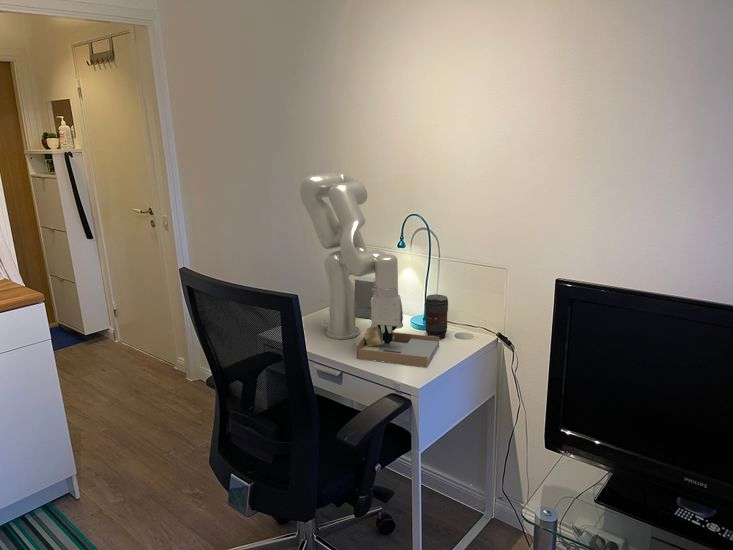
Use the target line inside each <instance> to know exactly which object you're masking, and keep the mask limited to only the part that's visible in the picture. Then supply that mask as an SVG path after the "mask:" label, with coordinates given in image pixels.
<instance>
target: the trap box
mask: <svg viewBox="0 0 733 550" xmlns="http://www.w3.org/2000/svg"><path fill="white" fill-rule="evenodd" d="M374 327H375V326H374ZM355 346H356V347H355V348H356V349H355V350H356V359H358V360H364V359H367V360H366V361H372V360H376V361H375V362H380V361H384V362H383V363H388V362H390V363H389V364H396V363H397V364H396V365H405V366H412V365H414V366H413V367H420V366H423V367H422V368H427V367H428V366H429V365H428V364H430V363H431V361H432V359H433V358H432V357H434V356H433V355H435V354H436V353H435V352H437V351H438V349H439V347H440V339H439V337H435V336H427V334H426V335H425V334H417V333H416V334H415V333H406V332H405V333H404V332H398V331H397V332H395V331H393V340H392V341H391V343H390V344H384V341H383V343H382V344H381V345H375V346H370V347H368V346H367V343H366V340H365V337H364V336H363V337H362V338H361V339H360V340H359V341H358V343H356V344H355ZM437 348H438V349H437ZM436 350H437V351H436ZM430 360H431V361H430ZM429 362H430V363H429Z"/></svg>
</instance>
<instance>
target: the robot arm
mask: <svg viewBox="0 0 733 550" xmlns="http://www.w3.org/2000/svg"><path fill="white" fill-rule="evenodd" d="M299 196H300V200H301V203H302V205H303V208H304V209H305V210H306V212H307V214H308V216H309V218H310V220H311V223H312V226H313V228H314V230H315V233H316V236H317V239H318V241H319V244H320V245H321V247H322V248H323V249H325V250H334V249H338V250H334V251H332V252H331V253H328V254H327V256H326V257H325V258H324V262H323V263H324V270H325V274H326V279H327V288H328V289H327V291H328V311H329V312H328V313H329V320H326V319H325V320H323V319H321V320H320V327H321V328H326V330H325V335H326V336H327V337H329V338H330V339H334V340H348V339H353V338H356V337H357V336H359V335H360V332H361V330H360V327H358V326H356V317H355V295H354V293H355V284H353V282H352V280H351V279H350V276H354V277H356V278H358V277H360V276H367V275H371V274H374V278H375V287H372V291H374V292H375V295H373V300H372V310H371V319H370V320H371V321H372V323H371V326H372V325H373V326H376V327H378V328H379V329H380V330H381V331H382V333H383V340H384V344H390V343H391V341H392V340H393V332H395V330H398V329H402V328H403V327H404V325H403V320H404V313H403V304H402V299H401V295H400V294H399V276H398V275H399V273H398V272H399V271H398V264H399V263H398V262H399V261H398V256H396V255H395V254H389V253H385V252H384V251H381V250H378V249H374V250H373V249H372V250H369V251H368V250H367V247H366V244H365V241H364V239H363V236H362V233H361V231H360V229H362V227H363V226H364V225H365V223H366V219H365V217H364V214H363V212H362V210H361V208H360V207H361V206H360V205H363V204H364V203H366V202H367V199H368V191H367V189H366V186H365V185H364V184H363V183H362V182H361V181H359V180H357V179H355V178H354V177H351V176H349V175H347V174H345V173H342V172H336V171H335V172H326V173H317V174H312V175H308V176H306V177H305V178H303V179H302V180H301V183H300V186H299ZM323 198H328V200H329V202H330V204H331V206H332V207H331V206H330V205H329V204H328V203H327V202H326V201H324V200H323ZM334 213H335V214H334ZM336 217H337V218H336ZM339 248H340V249H339ZM371 321H370V322H371ZM387 326H389V328H388V329H387Z"/></svg>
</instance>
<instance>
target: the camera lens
mask: <svg viewBox="0 0 733 550" xmlns="http://www.w3.org/2000/svg"><path fill="white" fill-rule="evenodd" d="M424 305H425V306H424V307H425V316H424V320H425V332H426V336H435V337H439V340H442V338H443V339H444V338H446V335H447V332H448V312H449V311H448V310H449V298H448V296H446V295H443V294H429V295H427V296H426V297H425V304H424Z"/></svg>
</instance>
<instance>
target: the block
mask: <svg viewBox="0 0 733 550" xmlns="http://www.w3.org/2000/svg"><path fill="white" fill-rule="evenodd" d="M363 337H365V340H366V343H367V346H368V347H370V346H375V345H381V344H382V343H383V341H384V340H383V333H382V331H381V330H380V329H379V328H378V327H372V326H371V327H369V328H366V330H365V331H364V332H363Z"/></svg>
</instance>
